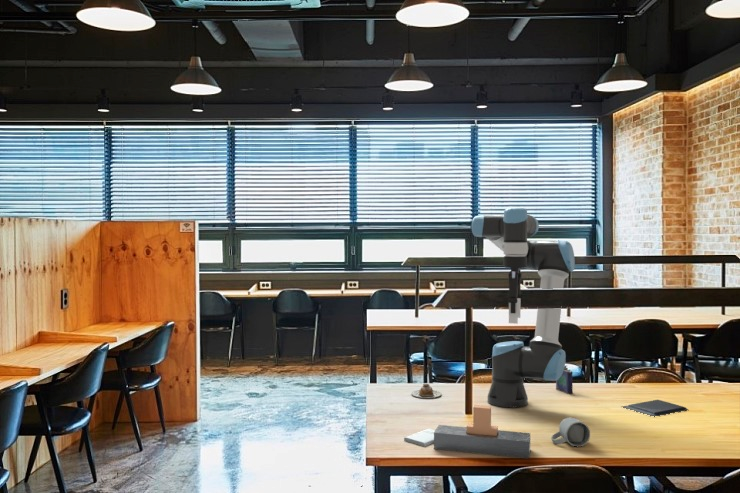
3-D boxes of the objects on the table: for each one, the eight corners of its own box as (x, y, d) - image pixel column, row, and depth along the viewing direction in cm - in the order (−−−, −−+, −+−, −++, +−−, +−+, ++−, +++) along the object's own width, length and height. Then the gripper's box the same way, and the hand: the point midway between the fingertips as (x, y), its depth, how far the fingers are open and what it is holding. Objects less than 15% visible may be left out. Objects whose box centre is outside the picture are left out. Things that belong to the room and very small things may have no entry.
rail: (438, 440, 199) (438, 424, 199) (530, 449, 191) (530, 433, 191) (433, 448, 192) (433, 432, 191) (529, 458, 183) (529, 441, 183)
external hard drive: (404, 442, 199) (427, 432, 208) (424, 448, 194) (448, 438, 203) (404, 437, 199) (427, 427, 208) (424, 442, 194) (448, 433, 203)
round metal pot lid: (441, 392, 259) (441, 381, 259) (441, 400, 247) (441, 389, 247) (412, 391, 261) (412, 380, 260) (410, 399, 249) (410, 388, 249)
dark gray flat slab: (653, 413, 224) (619, 403, 237) (653, 419, 224) (619, 408, 237) (691, 407, 232) (656, 397, 246) (691, 412, 232) (656, 402, 246)
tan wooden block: (467, 442, 194) (468, 404, 194) (497, 445, 191) (497, 406, 191) (466, 446, 191) (466, 406, 191) (496, 449, 189) (496, 409, 188)
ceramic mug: (579, 438, 202) (579, 414, 201) (590, 446, 194) (590, 421, 193) (547, 439, 201) (547, 415, 201) (557, 448, 193) (556, 423, 192)
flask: (554, 388, 264) (554, 363, 263) (560, 388, 265) (560, 362, 264) (568, 394, 255) (569, 367, 255) (574, 393, 256) (575, 367, 256)
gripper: (506, 254, 219) (506, 314, 220) (499, 257, 196) (499, 325, 196) (529, 254, 217) (528, 315, 218) (524, 257, 193) (524, 326, 194)
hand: (514, 320), depth 207 cm, fingers open, 13 cm apart
